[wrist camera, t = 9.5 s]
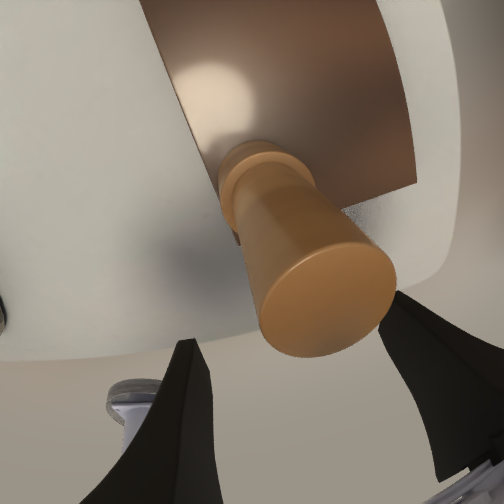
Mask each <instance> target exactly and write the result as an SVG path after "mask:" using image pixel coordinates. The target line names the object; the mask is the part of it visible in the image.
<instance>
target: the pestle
mask: <svg viewBox="0 0 504 504" xmlns="http://www.w3.org/2000/svg"><path fill="white" fill-rule="evenodd" d="M218 186H219V195H220V203H221V209H222V213H223V216H224V218H225V220H226V221H227V223H228V224H229V226H230V227H231V228H232V229H233V230H234V231H235V232H236V233H238V235H239V239H240V244H241V248H242V252H243V257H244V261H245V265H246V270H247V274H248V279H249V283H250V287H251V291H252V296H253V300H254V304H255V309H256V313H257V317H258V321H259V326H260V329H261V332H262V334H263V336H264V338H265V339H266V341H267V342H268V343H269V344H270V345H271V346H272V347H274V348H275V349H276V350H278V351H279V352H282V353H284V354H286V355H290V356H294V357H301V358H312V357H320V356H326V355H330V354H332V353H336V352H339V351H341V350H343V349H346V348H348V347H350V346H352V345H353V344H355V343H356V342H358V341H360V340H361V339H362V338H364V337H365V336H366V335H368V334H369V333H370V332H371V331H372V330H373V329H374V328H375V327H376V326H377V325H378V324H379V323H380V322H381V320H382V319H383V318H384V316H385V315H386V313H387V312H388V310H389V308H390V306H391V304H392V301H393V299H394V296H395V292H396V272H395V269H394V266H393V263H392V261H391V260H390V258H389V257H388V256H387V255H386V253H385V252H384V251H383V250H382V249H381V248H380V247H379V246H378V245H377V244H376V243H375V242H374V241H373V240H372V239H371V238H370V237H369V236H368V235H367V234H366V233H365V232H364V231H362V230H361V229H360V228H359V227H358V226H357V225H356V224H355V223H354V222H353V221H352V220H351V219H350V218H349V217H348V216H347V215H346V214H344V213H343V212H342V211H341V210H340V209H339V208H338V207H337V206H336V205H335V204H334V203H332V202H331V201H330V200H329V199H328V198H327V197H326V196H325V195H323V194H322V193H321V192H320V191H319V190H318V189H317V188H316V186H315V182H314V179H313V176H312V174H311V173H310V171H309V169H308V168H307V167H306V166H305V164H304V163H302V162H301V161H300V160H299V159H297V158H296V157H294V156H293V155H291V154H290V153H288V152H287V151H285V150H284V149H282V148H281V147H279V146H277V145H276V144H273V143H271V142H268V141H262V140H255V141H248V142H245V143H242V144H240V145H238V146H236V147H235V148H234V149H232V150H231V151H230V152H229V153H228V154H227V155H226V157H225V158H224V160H223V161H222V163H221V165H220V168H219V172H218Z"/></svg>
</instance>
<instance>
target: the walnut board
mask: <svg viewBox="0 0 504 504" xmlns="http://www.w3.org/2000/svg"><path fill="white" fill-rule="evenodd" d="M139 1H140V4H141V6H142V9H143V11H144V14H145V17H146V19H147V22H148V24H149V27H150V30H151V32H152V35H153V37H154V40H155V42H156V45H157V48H158V50H159V53H160V55H161V58H162V60H163V63H164V65H165V68H166V70H167V73H168V75H169V78H170V81H171V83H172V86H173V88H174V91H175V93H176V96H177V98H178V101H179V103H180V106H181V108H182V111H183V113H184V116H185V118H186V121H187V123H188V125H189V128H190V130H191V133H192V135H193V138H194V140H195V143H196V145H197V148H198V150H199V153H200V155H201V157H202V160H203V162H204V165H205V167H206V170H207V172H208V175H209V177H210V179H211V182H212V184H213V187H214V189H215V192H216V194H217V196H218V199H219V201H220V195H219V186H218V172H219V168H220V165H221V163H222V161H223V160H224V158H225V157H226V155H227V154H228V153H229V152H230V151H231V150H232V149H234V148H235V147H236V146H238V145H240V144H242V143H245V142H248V141H255V140H262V141H268V142H271V143H273V144H276V145H277V146H279V147H281V148H282V149H284V150H285V151H287V152H288V153H290V154H291V155H293V156H294V157H296V158H297V159H299V160H300V161H301V162H302V163H304V164H305V166H306V167H307V168H308V169H309V171H310V173H311V174H312V176H313V179H314V182H315V186H316V188H317V189H318V190H319V191H320V192H321V193H322V194H323V195H325V196H326V197H327V198H328V199H329V200H330V201H331V202H332V203H334V204H335V205H336V206H337V207H338V208H339V209H340V210H341V209H343V208H346V207H349V206H352V205H355V204H358V203H360V202H363V201H366V200H369V199H372V198H374V197H377V196H380V195H383V194H386V193H389V192H392V191H394V190H397V189H400V188H403V187H406V186H409V185H412V184H414V183H417V174H416V163H415V154H414V146H413V138H412V131H411V125H410V119H409V113H408V108H407V103H406V98H405V93H404V89H403V84H402V80H401V76H400V72H399V68H398V64H397V61H396V57H395V54H394V50H393V47H392V44H391V41H390V38H389V35H388V32H387V29H386V26H385V23H384V20H383V18H382V15H381V12H380V10H379V7H378V5H377V2H376V0H139ZM220 204H221V203H220ZM230 228H231V227H230ZM231 230H232V233H233V235H234V237H235V240H236V242H237V244H238V246H241V244H240V239H239V235H238V233H236V232H235V231H234V230H233V229H232V228H231Z"/></svg>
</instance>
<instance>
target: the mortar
mask: <svg viewBox="0 0 504 504" xmlns="http://www.w3.org/2000/svg"><path fill="white" fill-rule="evenodd" d="M3 330H4V315H3V312H2V309H1V306H0V335H1V333H2V331H3Z"/></svg>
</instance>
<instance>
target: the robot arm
mask: <svg viewBox="0 0 504 504" xmlns="http://www.w3.org/2000/svg"><path fill="white" fill-rule="evenodd" d="M378 332H379V334H380V336H381V338H382V341H383V344H384V346H385V348H386V350H387V352H388V354H389V356H390V357H391V359H392V360H393V362H394V364H395V366H396V368H397V369H398V371H399V373H400V374H401V376H402V378H403V379H404V381H405V383H406V385H407V386H408V388H409V390H410V392H411V393H412V396H413V398H414V400H415V402H416V404H417V407H418V409H419V412H420V414H421V417H422V420H423V423H424V426H425V429H426V432H427V435H428V439H429V443H430V446H431V450H432V455H433V460H434V466H435V473H436V477H437V479H438V482H439V483H440V482H442V481H444V480H446V479H448V478H450V477H451V476H453V475H455V474H457V473H459V472H460V471H462V470H464V469H465V468H466V467H468V468H469V470H470V472H469V473H468V474H467V475H465V476H464V477H462V478H461V479H460V480H458V481H457V482H455V483H454V484H452V485H451V486H449V487H448V488H446V489H444V490H443V491H441V492H440V493H438V494H436V495H435V496H433V497H431V498H430V499H428V500H426V501H424V502H422V503H421V504H504V349H502V348H499V347H496V346H494V345H491V344H489V343H487V342H485V341H483V340H481V339H478V338H476V337H474V336H472V335H470V334H468V333H467V332H465V331H463V330H461V329H460V328H458V327H456V326H454V325H453V324H451V323H450V322H448V321H446V320H445V319H443V318H441V317H440V316H438V315H436V314H435V313H434V312H432V311H430V310H429V309H427V308H426V307H424V306H423V305H421V304H420V303H418V302H417V301H415V300H413V299H412V298H410V297H409V296H407V295H405V294H404V293H402V292H401V291H399V290H398V291H396V292H395V296H394V299H393V301H392V304H391V306H390V308H389V310H388V312H387V313H386V315H385V316H384V318H383V319H382V320H381V322H380V324H379V329H378ZM112 408H113V409H114V410H115V411H116V412H117V413H118V414H119V415H120V416H121V417H122V418H123V419H124V420H125V426H124V437H123V447H122V456H121V457H120V459H119V460H118V462H117V463H116V464H115V465H114V467H113V468H112V469H111V470H110V471H109V473H108V474H107V475H106V476H105V478H104V479H103V480H102V481H101V482H100V483H99V484H98V486H97V487H96V488H95V489H94V490H93V491H92V492H91V493H89V494H88V496H86V497H85V498H84V499H83V500H82V501H81V502H80V503H79V504H223V500H222V495H221V490H220V485H219V480H218V474H217V468H216V462H215V454H214V435H213V394H212V386H211V379H210V371H209V369H208V367H207V364H206V362H205V360H204V358H203V355H202V353H201V351H200V349H199V346H198V344H197V341H196V339H195V338H193V339H187V340H180V341H178V342H177V344H176V347H175V350H174V353H173V355H172V358H171V361H170V363H169V366H168V368H167V371H166V373H165V376H164V378H163V381H162V383H161V385H160V388H159V390H158V392H157V394H156V397H155V399H154V401H153V402H146V403H113V404H112ZM461 496H462V498H461V499H459V500H457V501H455V500H456V499H458V498H459V497H461ZM453 501H454V502H453Z"/></svg>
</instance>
